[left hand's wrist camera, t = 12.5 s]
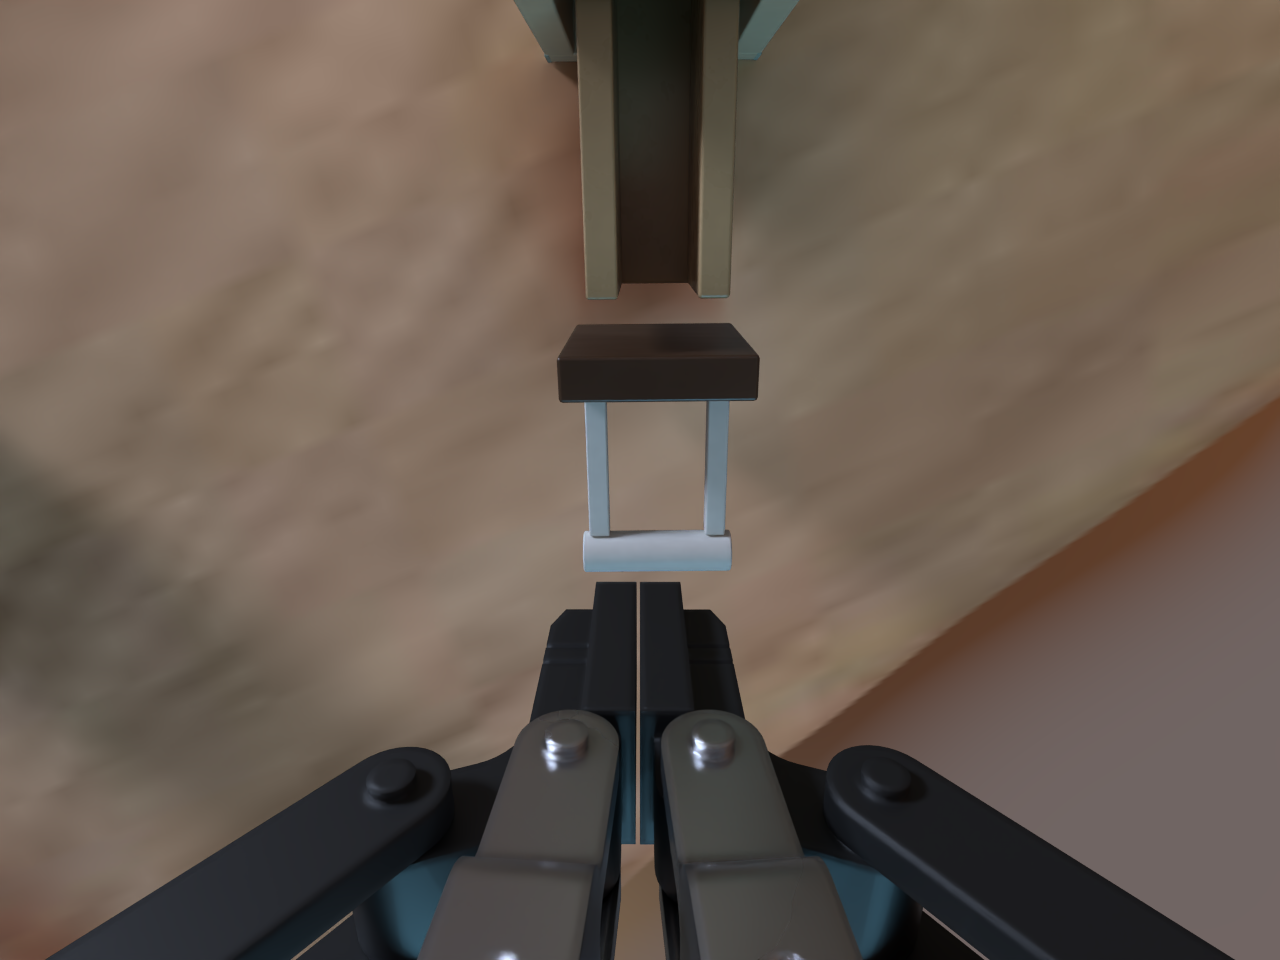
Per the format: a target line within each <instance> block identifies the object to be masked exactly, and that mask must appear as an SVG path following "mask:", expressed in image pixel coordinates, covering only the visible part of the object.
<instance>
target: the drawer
mask: <svg viewBox="0 0 1280 960" xmlns="http://www.w3.org/2000/svg"><path fill="white" fill-rule="evenodd" d="M739 11H740V0H575V13H576V40H577V68H578V95H579V123H580V150H581V178H582V205H583V232H584V260H585V287H586V298H587V299H588V300H600V299H617V298H618V294H619V291H620V287H621V284H622V283H689V284H690V286H691V287H692V288H693V290H694V291H695V292H696V294H697V295H698V296H699V297H700V298H727V297H729V295H730V279H731V250H732V220H733V190H734V160H735V130H736V100H737V70H738V40H739ZM759 362H760V358H759V355H758V354H757V353H756V352H755V351H754V350H753V348H752V347H751V346H750V345H749V344H748V343H747V341H746V340H745V339H744V338H743V337H742V336H741V335H740V333H739V332H738V331H737V330H736V329H735V328H734V326H733V325H732V324H730V323H693V324H599V325H577V326H576V328H575V329H574V331H573V333H572V335H571V336H570V338H569V340H568V341H567V343H566V345H565V346H564V348H563V350H562V352H561V353H560V355H559V357H558V359H557V372H558V391H559V400H560V402H562V403H579V402H585V426H586V452H587V477H588V503H589V529H590V531H585V532H584V538H583V564H584V570H585V571H586V572H614V571H721V570H730V568H731V564H732V542H731V534H730V531H729V530H725V511H726V482H727V453H728V425H729V401H754V400H757V398H758V382H759ZM677 401H707V403H706V446H705V489H704V530H637V531H610V505H609V469H608V433H607V402H677Z"/></svg>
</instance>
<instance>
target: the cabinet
mask: <svg viewBox="0 0 1280 960" xmlns="http://www.w3.org/2000/svg"><path fill="white" fill-rule="evenodd" d="M798 1H799V0H740V11H739V40H738V59H753V60H757V59H758V58H759V57H760V55H761V54H762V51H763V49H764V48H765V47H766V45H767V44H768V42H769V41H770V40H771V38H772V37H773V36H774V34H775V33H776V31H777V30H778V29H779V27H780V26H781V25H782V23H783V22H784V21H785V19H786V18H787V16H788V15H789V14H790V12H791V11H792V10H793V8H794V7H795V5H796V4H797V3H798ZM514 2H515V4H516V5H517V7H518V9H519V11H520V12H521V14H522V16H523V17H524V19H525V21H526V23H527V24H528V26H529V28H530V29H531V31H532V33H533V35H534V36H535V38H536V40H537V42H538V43H539V45H540V47H541V48H542V50H543V52H544V56H545V58H546V60H547V61H548V63H549V62H561V61H577V40H576V13H575V0H514Z"/></svg>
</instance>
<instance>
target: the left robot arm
mask: <svg viewBox="0 0 1280 960" xmlns="http://www.w3.org/2000/svg"><path fill="white" fill-rule="evenodd" d="M636 703H637V589H636V582H596V588H595V596H594V605H593V609H566V610H565V611H564V612H563V613H562V614H561V616H560V617H559V618H558V619H557V620H556V621H555V622H554V623H553V624H552V625H551V627H550V632H549V636H548V641H547V648H546V650H545V655H544V659H543V664H542V668H541V673H540V677H539V682H538V687H537V691H536V696H535V700H534V705H533V709H532V714H531V719H530V723H529V724H528V725H527V726H525V727H524V728H523V729H522V731H521V732H520V733H519V735H518V737H517V739H516V741H515V744H514V746H513V747H512V748H510V749H509V750H507V751H506V752H504V753H503V754H501V755H499V756H497V757H495V758H492V759H490V760H488V761H485V762H481V763H478V764H474V765H470V766H466V767H462V768H458V769H454V770H450V768H449V766H448V764H447V762H446V761H445V759H444V758H442V757H441V756H440V755H439V754H437V753H435V752H434V751H431V750H428V749H425V748H419V747H401V748H394V749H389V750H386V751H383V752H380V753H377V754H375V755H373V756H370V757H368V758H367V759H365V760H363V761H361V762H360V763H358V764H356V765H355V766H353V767H352V768H350V769H348V770H347V771H345V772H344V773H342V774H340V775H339V776H337V777H336V778H334V779H332V780H331V781H329V782H328V783H326V784H325V785H323V786H321V787H320V788H318V789H317V790H315V791H313V792H312V793H310V794H309V795H307V796H305V797H304V798H302V799H301V800H299V801H297V802H296V803H294V804H293V805H291V806H289V807H288V808H286V809H285V810H283V811H281V812H280V813H278V814H277V815H275V816H274V817H272V818H270V819H269V820H267V821H266V822H264V823H262V824H261V825H259V826H258V827H256V828H254V829H253V830H251V831H250V832H248V833H246V834H245V835H243V836H242V837H240V838H238V839H237V840H235V841H234V842H232V843H230V844H229V845H227V846H226V847H224V848H223V849H221V850H219V851H218V852H216V853H215V854H213V855H211V856H210V857H208V858H207V859H205V860H203V861H202V862H200V863H199V864H197V865H195V866H194V867H192V868H191V869H189V870H187V871H186V872H184V873H183V874H181V875H179V876H178V877H176V878H175V879H173V880H171V881H170V882H168V883H167V884H165V885H164V886H162V887H160V888H159V889H157V890H156V891H154V892H152V893H151V894H149V895H148V896H146V897H144V898H143V899H141V900H140V901H138V902H136V903H135V904H133V905H132V906H130V907H128V908H127V909H125V910H124V911H122V912H120V913H119V914H117V915H116V916H114V917H113V918H111V919H109V920H108V921H106V922H105V923H103V924H101V925H100V926H98V927H97V928H95V929H93V930H92V931H90V932H89V933H87V934H85V935H84V936H82V937H81V938H79V939H77V940H76V941H74V942H73V943H71V944H69V945H68V946H66V947H65V948H63V949H62V950H60V951H58V952H57V953H55V954H54V955H52V956H50V957H49V958H47V959H46V960H291V959H292V958H293V957H294V956H296V955H297V954H298V953H299V952H301V951H302V950H303V949H305V948H306V947H307V946H308V945H310V944H311V943H312V942H313V941H315V940H316V939H317V938H318V937H320V936H321V935H322V934H323V933H325V932H326V931H327V930H329V929H330V928H331V927H332V926H334V925H335V924H336V923H337V922H339V921H340V920H341V919H342V918H344V917H345V916H346V915H347V914H349V913H350V912H351V911H353V915H351V916H350V917H349V918H348V919H346V920H345V921H344V922H343V923H341V924H340V925H339V926H338V927H336V928H335V929H334V930H333V931H331V932H330V933H329V934H328V935H326V936H325V937H324V938H323V939H321V940H320V941H319V942H318V943H316V944H315V945H314V946H312V947H311V948H310V949H309V950H307V951H306V952H305V953H304V954H302V955H301V956H300V957H299V958H297V959H296V960H614V956H615V946H616V938H617V929H618V920H619V911H620V902H621V844H635V840H636ZM640 844H654V862H655V874H656V877H657V880H658V883H659V901H660V910H661V919H662V928H663V937H664V947H665V956H666V960H984V959H983V958H981V957H980V956H979V955H978V954H976V953H975V952H974V951H972V950H971V949H970V948H969V947H967V946H966V945H965V944H964V943H962V942H961V941H960V940H959V939H957V938H956V937H955V936H954V935H952V934H951V933H950V932H949V931H947V930H946V929H945V928H944V927H942V926H941V925H940V924H939V923H937V922H936V921H935V920H934V919H932V918H931V917H930V916H929V915H927V914H926V913H925V912H924V911H922V910H923V907H924V908H925V909H926V910H927V911H929V912H930V913H931V914H933V915H934V916H935V917H936V918H938V919H939V920H940V921H941V922H943V923H944V924H945V925H947V926H948V927H949V928H950V929H951V930H953V931H954V932H955V933H957V934H958V935H959V936H960V937H962V938H963V939H964V940H965V941H967V942H968V943H969V944H970V945H972V946H973V947H974V948H975V949H977V950H978V951H979V952H981V953H982V954H983V955H984V956H986V957H987V958H988V959H989V960H1234V959H1233V958H1231V957H1230V956H1228V955H1226V954H1225V953H1223V952H1222V951H1220V950H1218V949H1217V948H1215V947H1214V946H1212V945H1210V944H1209V943H1207V942H1206V941H1204V940H1203V939H1201V938H1199V937H1198V936H1196V935H1195V934H1193V933H1191V932H1190V931H1188V930H1187V929H1185V928H1183V927H1182V926H1180V925H1179V924H1177V923H1175V922H1174V921H1172V920H1170V919H1169V918H1167V917H1166V916H1164V915H1163V914H1161V913H1159V912H1158V911H1156V910H1155V909H1153V908H1152V907H1150V906H1148V905H1147V904H1145V903H1144V902H1142V901H1140V900H1139V899H1137V898H1136V897H1134V896H1132V895H1131V894H1129V893H1128V892H1126V891H1124V890H1123V889H1121V888H1120V887H1118V886H1116V885H1115V884H1113V883H1112V882H1110V881H1108V880H1107V879H1105V878H1104V877H1102V876H1100V875H1099V874H1097V873H1096V872H1094V871H1093V870H1091V869H1089V868H1088V867H1086V866H1085V865H1083V864H1081V863H1080V862H1078V861H1077V860H1075V859H1073V858H1072V857H1070V856H1069V855H1067V854H1065V853H1064V852H1062V851H1061V850H1059V849H1057V848H1056V847H1054V846H1053V845H1051V844H1050V843H1048V842H1046V841H1045V840H1043V839H1042V838H1040V837H1038V836H1037V835H1035V834H1033V833H1032V832H1030V831H1029V830H1027V829H1026V828H1024V827H1022V826H1021V825H1019V824H1018V823H1016V822H1014V821H1013V820H1011V819H1010V818H1008V817H1006V816H1005V815H1003V814H1002V813H1000V812H998V811H997V810H995V809H994V808H992V807H991V806H989V805H987V804H986V803H984V802H982V801H981V800H979V799H978V798H976V797H975V796H973V795H971V794H970V793H968V792H967V791H965V790H963V789H962V788H960V787H959V786H957V785H955V784H954V783H952V782H951V781H949V780H947V779H946V778H944V777H943V776H941V775H939V774H938V773H936V772H935V771H933V770H932V769H930V768H928V767H927V766H925V765H924V764H922V763H920V762H919V761H917V760H916V759H914V758H912V757H910V756H908V755H906V754H904V753H902V752H899V751H897V750H893V749H890V748H886V747H881V746H872V745H863V746H855V747H851V748H848V749H845V750H843V751H841V752H839V753H838V754H837V755H836V756H834V757H833V759H832V760H831V761H830V763H829V766H828V768H827V771H824V770H820V769H816V768H812V767H808V766H804V765H800V764H796V763H793V762H789V761H787V760H784V759H782V758H780V757H778V756H776V755H774V754H772V753H770V752H769V751H768V750H767V747H766V744H765V741H764V739H763V737H762V735H761V733H760V732H759V731H758V729H757V728H756V727H755V726H753V725H752V724H751V723H750V722H748V721H747V720H745V716H744V712H743V707H742V702H741V697H740V693H739V688H738V683H737V678H736V674H735V669H734V664H733V659H732V655H731V650H730V648H729V640H728V635H727V631H726V626H725V625H724V624H723V623H722V622H721V621H720V619H719V618H718V617H717V616H716V615H715V614H714V613H713V612H712V611H711V610H683V602H682V593H681V585H680V582H640Z"/></svg>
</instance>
